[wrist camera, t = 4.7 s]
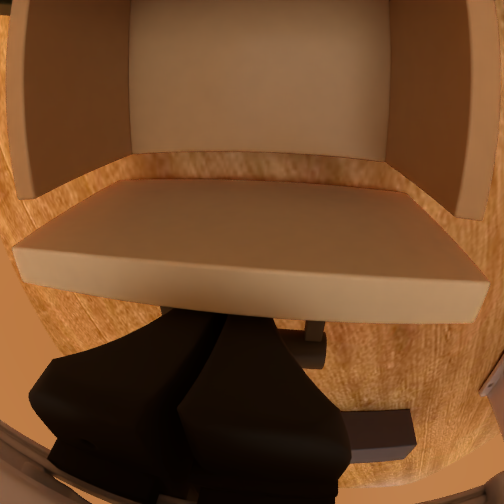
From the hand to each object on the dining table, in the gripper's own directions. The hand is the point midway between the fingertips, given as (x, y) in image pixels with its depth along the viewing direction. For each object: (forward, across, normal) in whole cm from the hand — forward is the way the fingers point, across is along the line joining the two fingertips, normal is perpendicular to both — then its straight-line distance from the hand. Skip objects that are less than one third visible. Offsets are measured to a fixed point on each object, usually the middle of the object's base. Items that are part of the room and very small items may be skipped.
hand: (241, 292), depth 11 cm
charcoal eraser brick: (+4, -8, +14) cm, 17 cm away
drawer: (+3, 0, -6) cm, 7 cm away
